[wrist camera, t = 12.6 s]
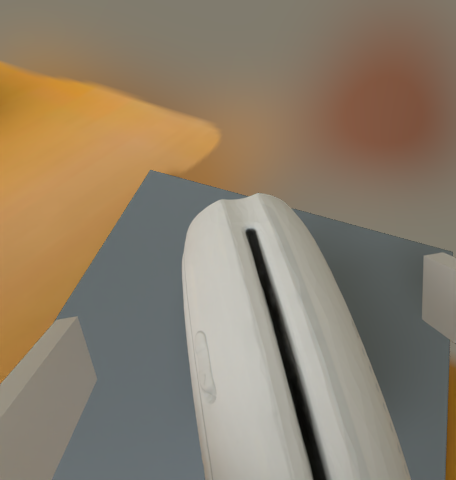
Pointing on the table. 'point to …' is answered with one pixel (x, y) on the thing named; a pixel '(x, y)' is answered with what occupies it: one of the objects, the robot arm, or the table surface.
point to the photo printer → (277, 354)
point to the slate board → (176, 351)
